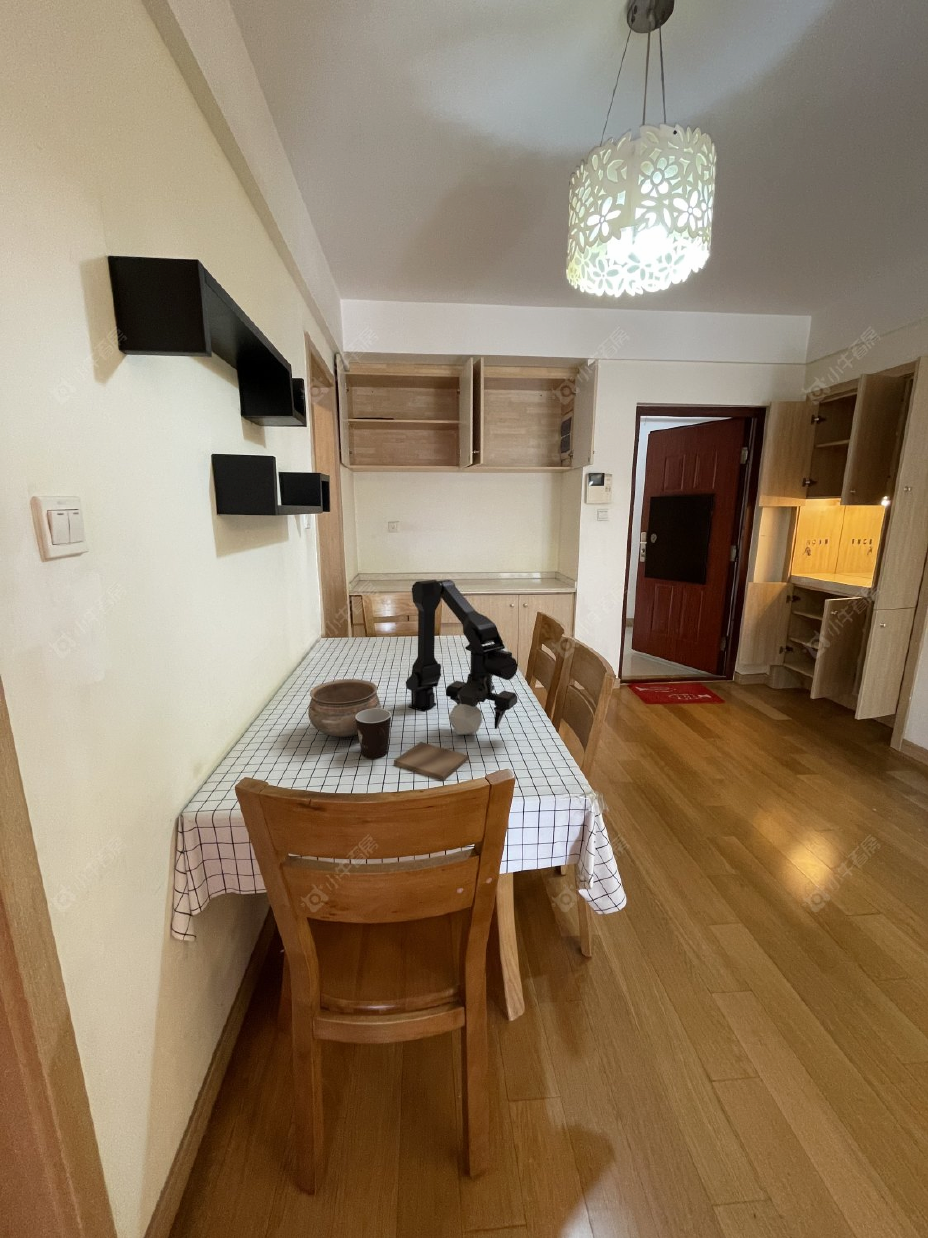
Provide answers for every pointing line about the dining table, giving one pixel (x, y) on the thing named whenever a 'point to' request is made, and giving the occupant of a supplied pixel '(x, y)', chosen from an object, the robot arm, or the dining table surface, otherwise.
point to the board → (431, 761)
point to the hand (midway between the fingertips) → (480, 724)
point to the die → (465, 719)
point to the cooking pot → (341, 705)
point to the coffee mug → (373, 732)
